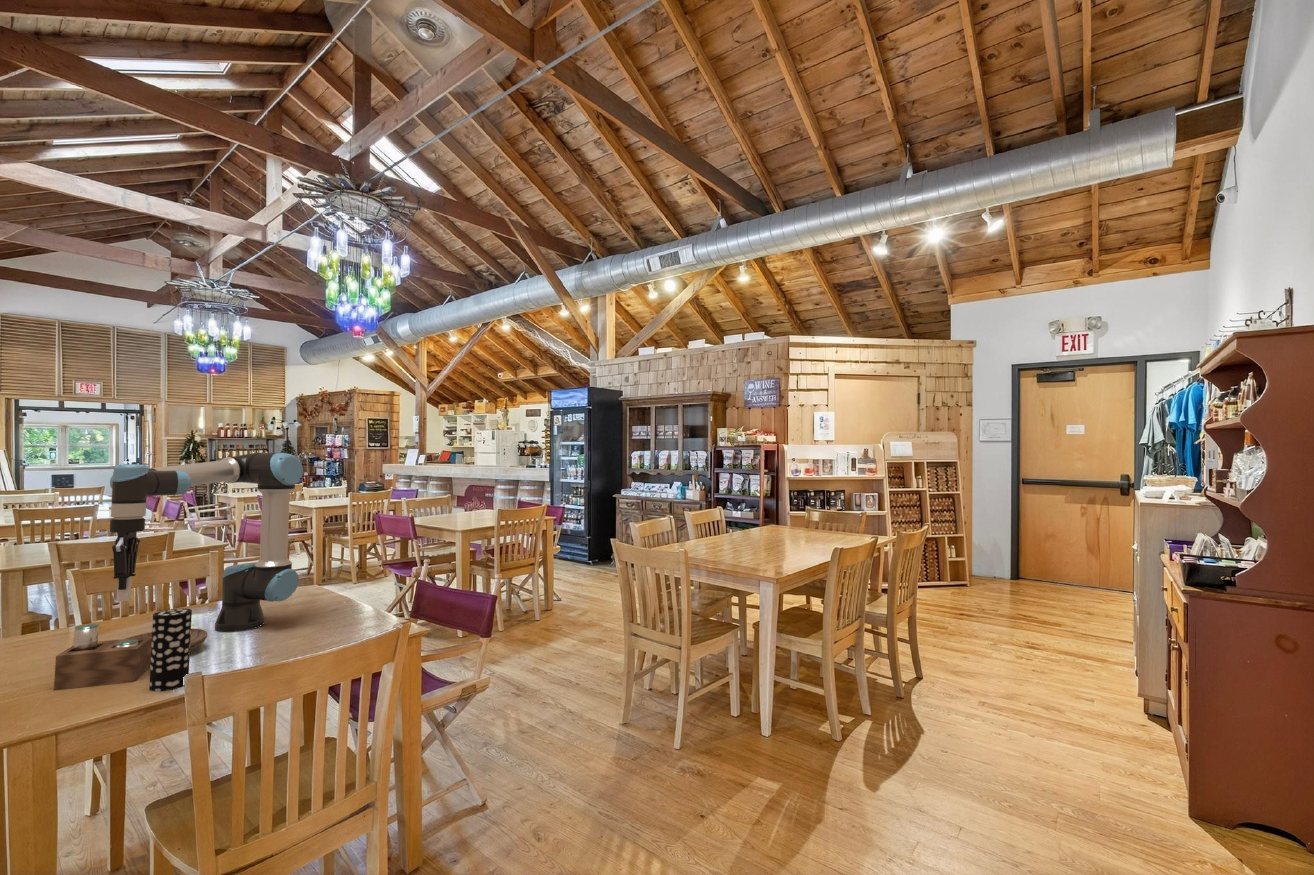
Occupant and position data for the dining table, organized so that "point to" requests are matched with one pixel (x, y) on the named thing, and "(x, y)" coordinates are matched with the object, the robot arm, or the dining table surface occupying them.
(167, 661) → the white-spotted black cylinder
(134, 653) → the walnut block
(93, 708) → the dining table surface
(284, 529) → the robot arm
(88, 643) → the peg
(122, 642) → the peg
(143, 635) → the ceramic bowl
